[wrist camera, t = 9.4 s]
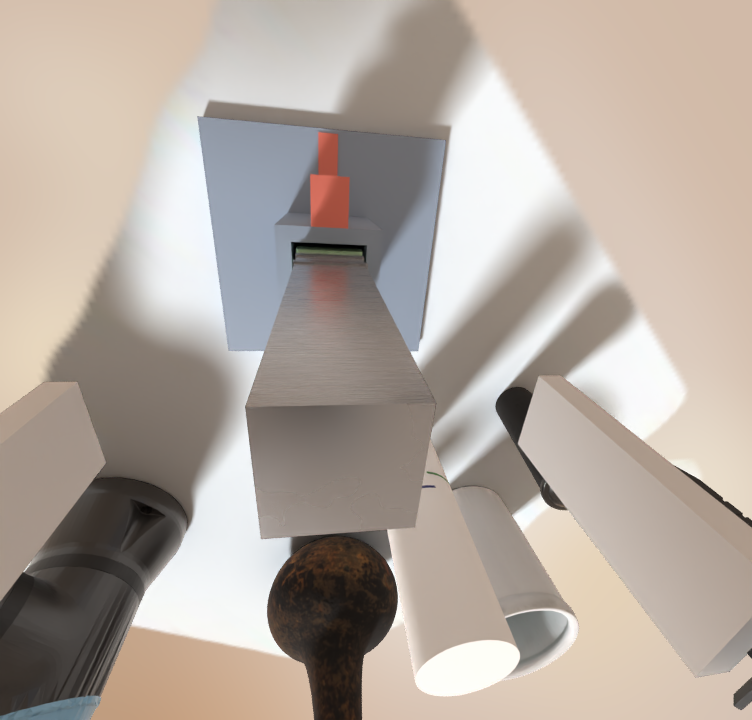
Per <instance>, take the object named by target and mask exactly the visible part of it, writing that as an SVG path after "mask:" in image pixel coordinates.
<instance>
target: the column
mask: <svg viewBox="0 0 752 720" xmlns="http://www.w3.org/2000/svg"><path fill="white" fill-rule="evenodd" d="M435 407H436V402H435V400H434V398H433V396H432V394H431V392H430V390H429V388H428V386H427V384H426V382H425V380H424V378H423V376H422V374H421V372H420V370H419V368H418V366H417V365H416V363H415V361H414V359H413V357H412V355H411V353H410V351H409V349H408V347H407V345H406V343H405V341H404V339H403V337H402V335H401V333H400V331H399V329H398V327H397V325H396V323H395V322H394V320H393V318H392V316H391V314H390V312H389V310H388V308H387V306H386V304H385V302H384V300H383V298H382V296H381V294H380V292H379V290H378V288H377V286H376V284H375V282H374V280H373V278H372V277H371V275H370V273H369V271H368V263H367V262H364V256H362V250H361V249H357V247H356V245H348V244H327V243H306V242H302V243H301V246H297V248H296V254H295V260H293V269H292V272H291V275H290V278H289V281H288V284H287V287H286V290H285V292H284V295H283V298H282V301H281V304H280V307H279V310H278V313H277V316H276V319H275V322H274V325H273V327H272V330H271V333H270V336H269V339H268V342H267V345H266V348H265V351H264V354H263V357H262V360H261V362H260V365H259V368H258V371H257V374H256V377H255V380H254V383H253V386H252V389H251V392H250V395H249V397H248V400H247V403H246V406H245V409H246V417H247V426H248V434H249V443H250V451H251V459H252V468H253V476H254V484H255V493H256V501H257V509H258V518H259V526H260V535H261V539H269V538H282V537H295V536H309V535H322V534H336V533H349V532H362V531H376V530H389V529H403V528H415V525H416V519H417V513H418V508H419V502H420V496H421V490H422V484H423V478H424V472H425V466H426V460H427V454H428V448H429V442H430V437H431V431H432V425H433V419H434V413H435Z"/></svg>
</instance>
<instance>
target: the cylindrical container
mask: <svg viewBox="0 0 752 720" xmlns="http://www.w3.org/2000/svg"><path fill="white" fill-rule="evenodd" d="M387 532H388V537H389V542H390V548H391V553H392V559H393V564H394V569H395V575H396V580H397V586H398V591H399V597H400V602H401V607H402V613H403V618H404V624H405V629H406V634H407V640H408V645H409V651H410V656H411V661H412V667H413V672H414V678H415V682H416V685H417V687H418V688H419V689H420V690H421V691H423V692H425V693H427V694H430V695H436V696H456V695H463V694H467V693H471V692H475V691H478V690H481V689H484V688H486V687H489V686H491V685H493V684H495V683H496V682H498V681H500V680H502V679H503V678H505V677H506V676H507V675H508V674H510V673H511V672H512V671H513V670H514V669H515V667H516V666H517V664H518V663H519V659H520V652H519V650H518V648H517V645H516V643H515V640H514V638H513V636H512V633H511V631H510V628H509V626H508V624H507V621H506V619H505V616H504V614H503V612H502V609H501V607H500V604H499V602H498V600H497V597H496V595H495V592H494V590H493V588H492V585H491V583H490V580H489V578H488V576H487V573H486V571H485V568H484V566H483V564H482V561H481V559H480V556H479V554H478V552H477V549H476V547H475V544H474V542H473V540H472V537H471V535H470V532H469V530H468V528H467V525H466V523H465V520H464V518H463V516H462V513H461V511H460V508H459V506H458V504H457V501H456V499H455V497H454V494H453V492H452V489H451V487H450V485H449V482H448V480H447V478H446V475H445V473H444V470H443V468H442V466H441V463H440V461H439V458H438V456H437V454H436V451H435V449H434V446H433V444H432V442H431V439H430V442H429V448H428V454H427V460H426V466H425V472H424V478H423V484H422V490H421V496H420V502H419V508H418V513H417V519H416V525H415V528H403V529H389V530H387Z"/></svg>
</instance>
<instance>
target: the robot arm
mask: <svg viewBox="0 0 752 720" xmlns="http://www.w3.org/2000/svg"><path fill="white" fill-rule="evenodd" d="M518 445H519V446H520V448H521V449H522V450H523V452H524V453H525V454H526V456H527V457H528V458H529V459H530V461H531V462H532V463H533V465H534V466H535V467H536V469H537V470H538V471H539V473H540V474H541V475H542V477H543V478H544V479H545V480H546V482H547V483H548V484H549V486H550V487H551V488H552V490H553V491H554V492H555V494H556V495H557V496H558V498H559V499H560V500H561V502H562V503H563V504H564V505H565V507H566V508H567V509H568V511H569V512H570V513H571V515H572V516H573V517H574V519H575V520H576V521H577V523H578V524H579V525H580V526H581V528H582V529H583V530H584V532H585V533H586V534H587V536H588V537H589V538H590V540H591V541H592V542H593V544H594V545H595V546H596V548H597V549H598V550H599V551H600V553H601V554H602V555H603V557H604V558H605V559H606V561H607V562H608V563H609V565H610V566H611V567H612V569H613V570H614V571H615V572H616V574H617V575H618V576H619V578H620V579H621V580H622V582H623V583H624V584H625V586H626V587H627V588H628V590H629V591H630V592H631V594H632V595H633V596H634V598H635V599H636V600H637V601H638V603H639V604H640V605H641V607H642V608H643V609H644V611H645V612H646V613H647V615H648V616H649V617H650V618H651V620H652V621H653V622H654V624H655V625H656V626H657V628H658V629H659V630H660V632H661V633H662V634H663V636H664V637H665V638H666V640H667V641H668V642H669V644H670V645H671V646H672V647H673V649H674V650H675V651H676V653H677V654H678V655H679V657H680V658H681V659H682V661H683V662H684V663H685V665H686V666H687V667H688V669H689V670H690V671H691V672H692V674H693V675H694V676H695V677H702V676H708V675H713V674H720V673H725V672H730V671H731V670H732V669H733V668H734V667H735V666H736V665H737V664H738V663H739V662H740V661H741V660H742V659H743V658H744V657H745V656H746V655H747V654H748V655H749V656H750V657H751V658H752V520H751V519H749V518H748V517H746V518H745V517H743V515H742V513H741V512H740V511H739V510H738V509H736V508H735V507H734V506H733V505H731V504H730V503H729V502H724V501H723V498H722V497H721V496H720V495H718V494H717V493H716V492H715V491H713V490H712V489H711V488H709V487H708V486H707V485H706V484H704V483H703V482H702V481H701V480H699V479H697V478H696V477H694V476H692V475H690V474H688V473H687V472H685V471H683V470H681V469H680V468H678V467H676V466H674V465H672V464H671V463H670V462H669V461H667V460H666V459H665V458H664V457H662V456H661V455H660V454H659V453H657V452H656V451H655V450H654V449H652V448H651V447H650V446H649V445H647V444H646V443H645V442H644V441H642V440H641V439H640V438H639V437H637V436H636V435H635V434H634V433H632V432H631V431H630V430H628V429H627V428H626V427H625V426H623V425H622V424H621V423H620V422H618V421H617V420H616V419H615V418H613V417H612V416H611V415H610V414H608V413H607V412H606V411H605V410H603V409H602V408H601V407H600V406H598V405H597V404H596V403H595V402H593V401H592V400H591V399H590V398H588V397H587V396H586V395H585V394H583V393H582V392H581V391H580V390H578V389H577V388H576V387H575V386H573V385H572V384H571V383H570V382H568V381H567V380H566V379H564V378H563V377H562V376H561V375H543V376H538V379H537V383H536V386H535V389H534V392H533V396H532V399H531V402H530V405H529V409H528V412H527V415H526V419H525V422H524V425H523V428H522V432H521V435H520V438H519V441H518ZM105 464H106V461H105V458H104V455H103V452H102V450H101V447H100V444H99V441H98V438H97V435H96V433H95V430H94V427H93V424H92V421H91V419H90V416H89V413H88V410H87V407H86V405H85V402H84V399H83V396H82V393H81V390H80V388H79V385H78V382H43V383H42V384H40V385H39V386H38V387H36V388H35V389H34V390H32V391H31V392H29V393H28V394H27V395H25V396H24V397H22V398H21V399H20V400H18V401H17V402H16V403H14V404H13V405H11V406H10V407H9V408H7V409H6V410H5V411H3V412H2V413H0V720H90V719H91V717H92V715H93V713H94V711H95V709H96V708H97V707H98V705H99V703H100V701H101V698H100V697H101V694H102V692H103V690H104V687H105V685H106V683H107V680H108V678H109V675H110V673H111V671H112V668H113V666H114V664H115V661H116V659H117V657H118V654H119V652H120V650H121V647H122V645H123V643H124V640H125V637H126V635H127V633H128V631H129V628H130V626H131V624H132V621H133V619H134V617H135V614H136V612H137V609H138V607H139V605H140V602H141V600H142V598H143V596H144V593H145V591H146V590H147V588H148V587H149V586H150V585H151V583H152V582H153V581H154V580H155V579H156V577H157V576H158V575H159V574H160V572H161V571H162V570H163V569H164V567H165V566H166V565H167V564H168V562H169V561H170V560H171V559H172V557H173V556H174V555H175V554H176V552H177V551H178V549H179V547H180V545H181V543H182V540H183V538H184V535H185V533H186V529H187V518H186V515H185V512H184V510H183V508H182V507H181V506H180V504H179V503H178V502H177V501H176V500H175V499H174V498H173V497H172V496H170V495H169V494H167V493H166V492H164V491H163V490H161V489H159V488H157V487H155V486H152V485H150V484H147V483H144V482H140V481H136V480H131V479H123V478H104V479H96V480H93V479H94V478H95V477H96V475H97V474H98V473H99V472H100V470H101V469H102V468H103V466H104V465H105ZM30 562H31V563H30ZM29 563H30V565H29ZM28 565H29V567H28V568H27V570H26V571H25V572H23V571H24V570H25V568H26V567H27V566H28ZM751 701H752V678H750V679H749V680H748V681H747V682H746V683H745V684H744V685H743V686H742V687H741V688H740V689H739V690H738V691H737V692H736V693H735V694H734V706H735V707H736V708H738V709H740V710H742V709H744V708H745V707H746V706H747V705H748V704H749V703H750V702H751Z"/></svg>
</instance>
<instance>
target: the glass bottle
mask: <svg viewBox="0 0 752 720" xmlns="http://www.w3.org/2000/svg"><path fill="white" fill-rule="evenodd" d="M397 603H398V594H397V586H396V582H395V578H394V576H393V573H392V571H391V569H390V567H389V565H388V564H387V562H386V561H385V559H384V558H383V557H382V556H381V555H380V554H379V553H378V552H377V551H376V550H374V549H373V548H372V547H371V546H369V545H368V544H366V543H364V542H362V541H360V540H357V539H354V538H350V537H342V536H334V537H327V538H321V539H319V540H316V541H313V542H311V543H309V544H307V545H305V546H304V547H302V548H301V549H299V550H298V551H297V552H295V553H294V554H293V555H292V556H291V557H290V558H289V559H288V560H287V561H286V562H285V563H284V565H283V566H282V568H281V569H280V571H279V572H278V574H277V576H276V578H275V580H274V582H273V585H272V588H271V591H270V594H269V598H268V606H267V617H268V624H269V628H270V631H271V634H272V636H273V638H274V640H275V641H276V643H277V645H278V646H279V647H280V648H281V649H282V651H284V652H285V653H286V654H287V655H289V656H290V657H291V658H293V659H295V660H297V661H299V662H302V663H304V664H305V666H306V669H307V674H308V677H309V683H310V688H311V695H312V703H313V712H314V720H362V694H361V693H362V665H363V658H364V655H365V654H366V653H368V652H370V651H371V650H372V649H374V648H375V647H376V646H377V645H378V644H379V643H380V642H381V641H382V640H383V639H384V637H385V636H386V635H387V633H388V631H389V630H390V628H391V626H392V624H393V621H394V618H395V615H396V610H397Z"/></svg>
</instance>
